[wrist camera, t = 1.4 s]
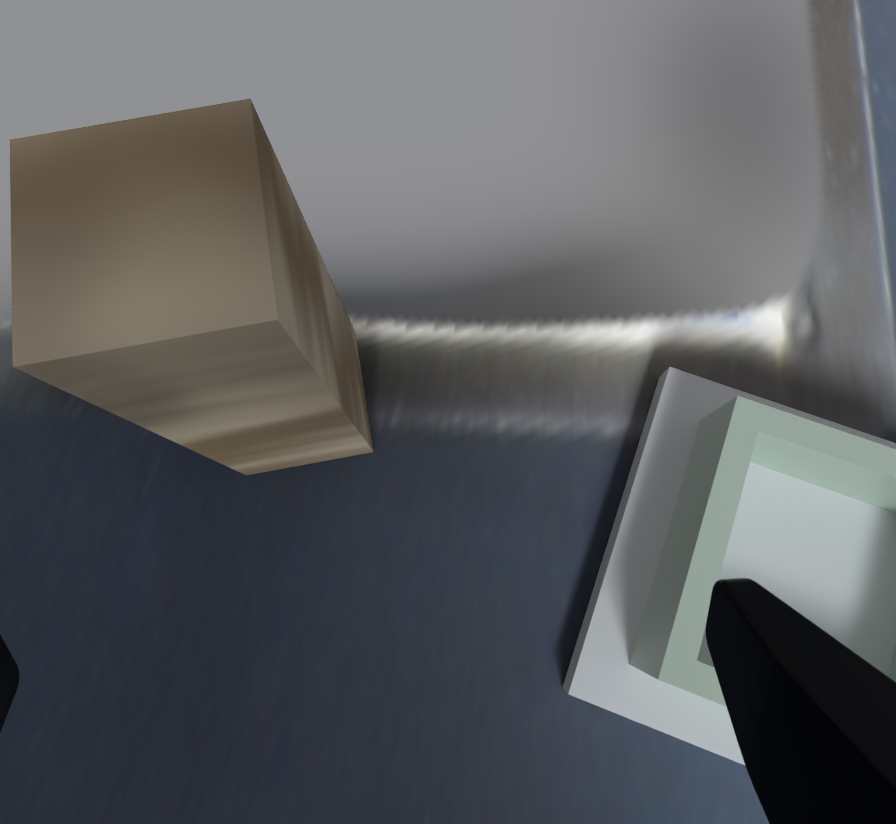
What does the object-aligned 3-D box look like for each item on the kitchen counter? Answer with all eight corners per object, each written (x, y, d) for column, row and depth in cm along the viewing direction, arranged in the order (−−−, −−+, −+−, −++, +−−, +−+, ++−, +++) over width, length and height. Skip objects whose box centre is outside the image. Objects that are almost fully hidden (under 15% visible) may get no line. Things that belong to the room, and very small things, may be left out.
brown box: (373, 452, 23) (278, 320, 11) (246, 475, 22) (12, 366, 11) (355, 333, 24) (250, 98, 12) (233, 355, 24) (10, 139, 12)
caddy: (913, 828, 19) (1032, 895, 15) (562, 687, 20) (586, 715, 16) (975, 485, 22) (1093, 464, 18) (659, 377, 23) (701, 334, 19)
